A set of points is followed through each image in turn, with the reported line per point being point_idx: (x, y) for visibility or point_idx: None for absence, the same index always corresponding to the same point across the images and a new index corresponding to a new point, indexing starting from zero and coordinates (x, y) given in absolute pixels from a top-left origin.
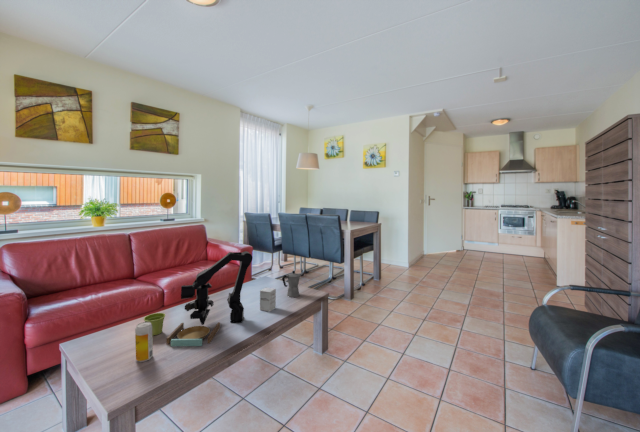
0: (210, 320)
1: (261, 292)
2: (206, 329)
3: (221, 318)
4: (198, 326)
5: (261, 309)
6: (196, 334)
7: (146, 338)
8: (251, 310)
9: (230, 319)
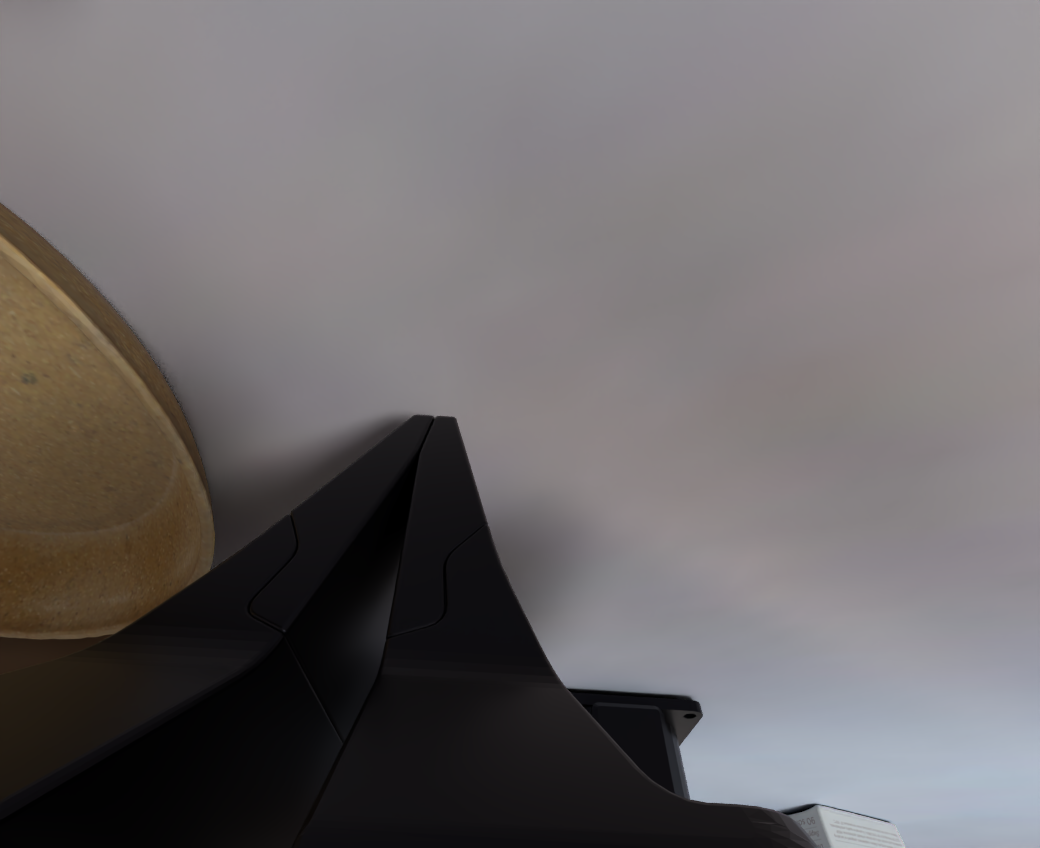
0: (732, 481)
1: None
2: (182, 556)
3: (750, 606)
4: (165, 431)
5: (804, 820)
6: (20, 391)
7: None
8: (854, 775)
9: (593, 717)
